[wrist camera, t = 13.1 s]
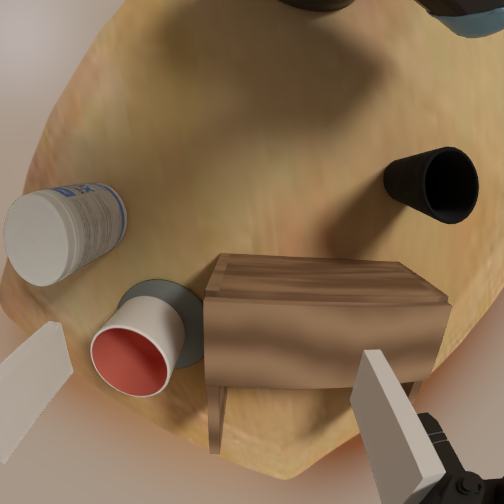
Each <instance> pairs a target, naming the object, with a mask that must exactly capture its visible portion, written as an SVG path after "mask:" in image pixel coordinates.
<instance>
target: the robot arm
mask: <svg viewBox="0 0 504 504" xmlns="http://www.w3.org/2000/svg"><path fill="white" fill-rule="evenodd" d="M280 1H282V2H284V3H286V4H288V5H291V6H294V7H297V8H301V9H305V10H311V11H331V10H337V9H340V8H343V7H346V6H348V5H349V4H351V3H352V2H354V1H355V0H280ZM414 1H416V2H417V3H418V4H419V5H421V6H422V7H423V8H424V9H426V11H427V13H428V14H429V15H431V16H432V17H434V18H436V19H438V20H439V21H440V22H442V23H443V24H444V25H445V26H446V27H447V28H449V29H450V30H451V31H452V32H454V33H455V34H457V35H459V36H463V37H466V38H480V37H485V36H488V35H491V34H494V33H496V32H499V31H501V30H503V29H504V0H414ZM72 373H73V368H72V365H71V361H70V357H69V354H68V350H67V346H66V342H65V338H64V333H63V329H62V324H61V323H57V322H53V321H48V322H47V323H46V324H44V325H43V326H42V327H41V328H40V329H39V330H37V331H36V332H35V333H34V334H33V335H32V336H31V337H29V338H28V339H27V340H26V341H25V342H24V343H23V344H21V345H20V346H19V347H18V348H17V349H16V350H15V351H14V352H13V353H11V354H10V355H9V356H8V357H7V358H6V359H5V360H4V361H3V362H2V363H1V364H0V461H1V462H3V463H4V464H5V463H6V461H7V460H8V458H9V457H10V455H11V454H12V452H13V451H14V450H15V448H16V447H17V446H18V444H19V443H20V441H21V440H22V438H23V437H24V436H25V434H26V433H27V432H28V430H29V429H30V428H31V426H32V425H33V424H34V422H35V421H36V420H37V418H38V417H39V415H40V414H41V413H42V412H43V410H44V409H45V407H46V406H47V405H48V404H49V402H50V401H51V400H52V398H53V397H54V396H55V395H56V393H57V392H58V391H59V389H60V388H61V387H62V386H63V384H64V383H65V382H66V381H67V379H68V378H69V377H70V376H71V374H72ZM350 402H351V405H352V408H353V411H354V414H355V417H356V421H357V424H358V427H359V430H360V433H361V436H362V439H363V442H364V446H365V449H366V452H367V455H368V458H369V462H370V465H371V468H372V472H373V475H374V478H375V482H376V485H377V488H378V492H379V496H380V499H381V502H382V504H504V476H503V478H501V479H488V480H483V479H481V477H480V476H479V475H477V474H475V473H473V472H469V471H465V470H464V468H463V466H462V465H461V463H460V461H459V459H458V457H457V455H456V453H455V452H454V450H453V448H452V446H451V445H450V442H449V441H447V437H446V436H445V434H444V433H443V430H442V428H441V427H440V425H439V423H438V421H437V420H436V419H434V418H433V417H432V416H431V415H430V414H429V413H420V414H416V412H415V411H414V408H413V407H412V405H411V403H410V401H409V399H408V397H407V396H406V394H405V392H404V390H403V388H402V386H401V385H400V383H399V381H398V379H397V378H396V376H395V374H394V372H393V371H392V369H391V367H390V365H389V364H388V362H387V360H386V358H385V357H384V355H383V353H382V351H381V350H363V354H362V358H361V362H360V366H359V369H358V373H357V376H356V380H355V383H354V387H353V390H352V393H351V397H350Z"/></svg>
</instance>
